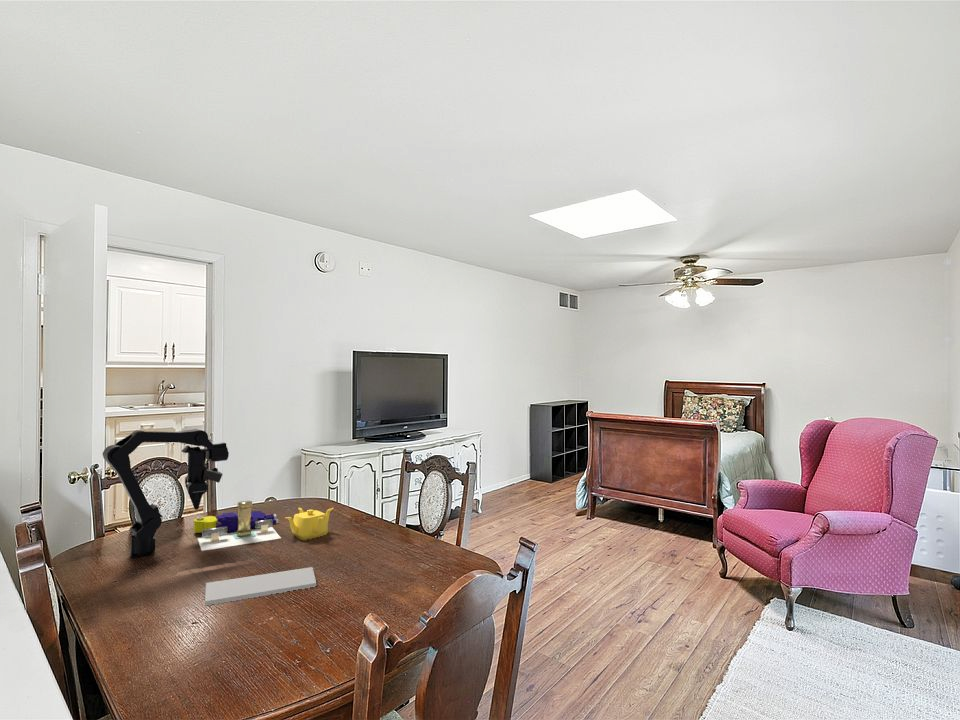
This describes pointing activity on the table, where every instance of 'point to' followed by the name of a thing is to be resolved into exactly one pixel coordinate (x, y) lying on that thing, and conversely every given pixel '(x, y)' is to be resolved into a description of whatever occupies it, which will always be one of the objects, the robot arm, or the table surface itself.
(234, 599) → the grey flat slab
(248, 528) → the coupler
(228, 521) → the toy
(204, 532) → the shafts
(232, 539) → the board
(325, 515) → the teapot
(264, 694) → the table surface
